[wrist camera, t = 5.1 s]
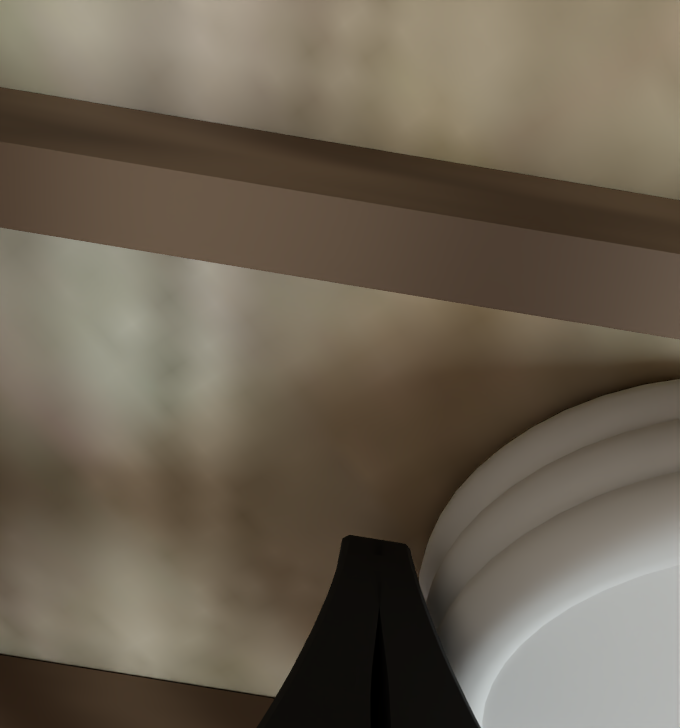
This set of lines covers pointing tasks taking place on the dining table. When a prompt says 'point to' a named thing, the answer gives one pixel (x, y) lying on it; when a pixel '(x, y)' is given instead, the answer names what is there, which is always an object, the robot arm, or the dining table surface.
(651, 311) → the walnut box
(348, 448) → the dining table surface
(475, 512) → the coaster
